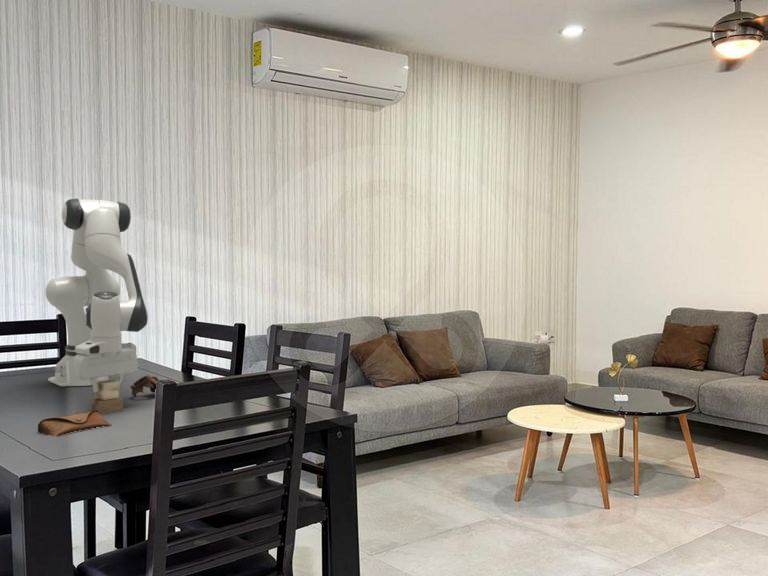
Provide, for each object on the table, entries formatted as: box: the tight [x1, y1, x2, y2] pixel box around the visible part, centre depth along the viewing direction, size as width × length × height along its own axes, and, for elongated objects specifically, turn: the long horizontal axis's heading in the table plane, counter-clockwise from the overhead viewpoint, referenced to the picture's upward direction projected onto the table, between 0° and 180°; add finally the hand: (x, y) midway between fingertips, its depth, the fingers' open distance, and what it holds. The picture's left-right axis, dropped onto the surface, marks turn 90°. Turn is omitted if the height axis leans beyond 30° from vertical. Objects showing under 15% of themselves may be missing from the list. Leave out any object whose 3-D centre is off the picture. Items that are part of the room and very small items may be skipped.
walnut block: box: [90, 396, 124, 415], centre depth 234 cm, size 7×7×4 cm
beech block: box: [94, 378, 120, 400], centre depth 233 cm, size 5×5×5 cm
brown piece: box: [129, 375, 159, 398], centre depth 255 cm, size 12×10×8 cm
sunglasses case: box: [37, 410, 112, 437], centre depth 211 cm, size 18×7×7 cm, turn 142°
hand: (106, 390), depth 233 cm, fingers open, 5 cm apart
